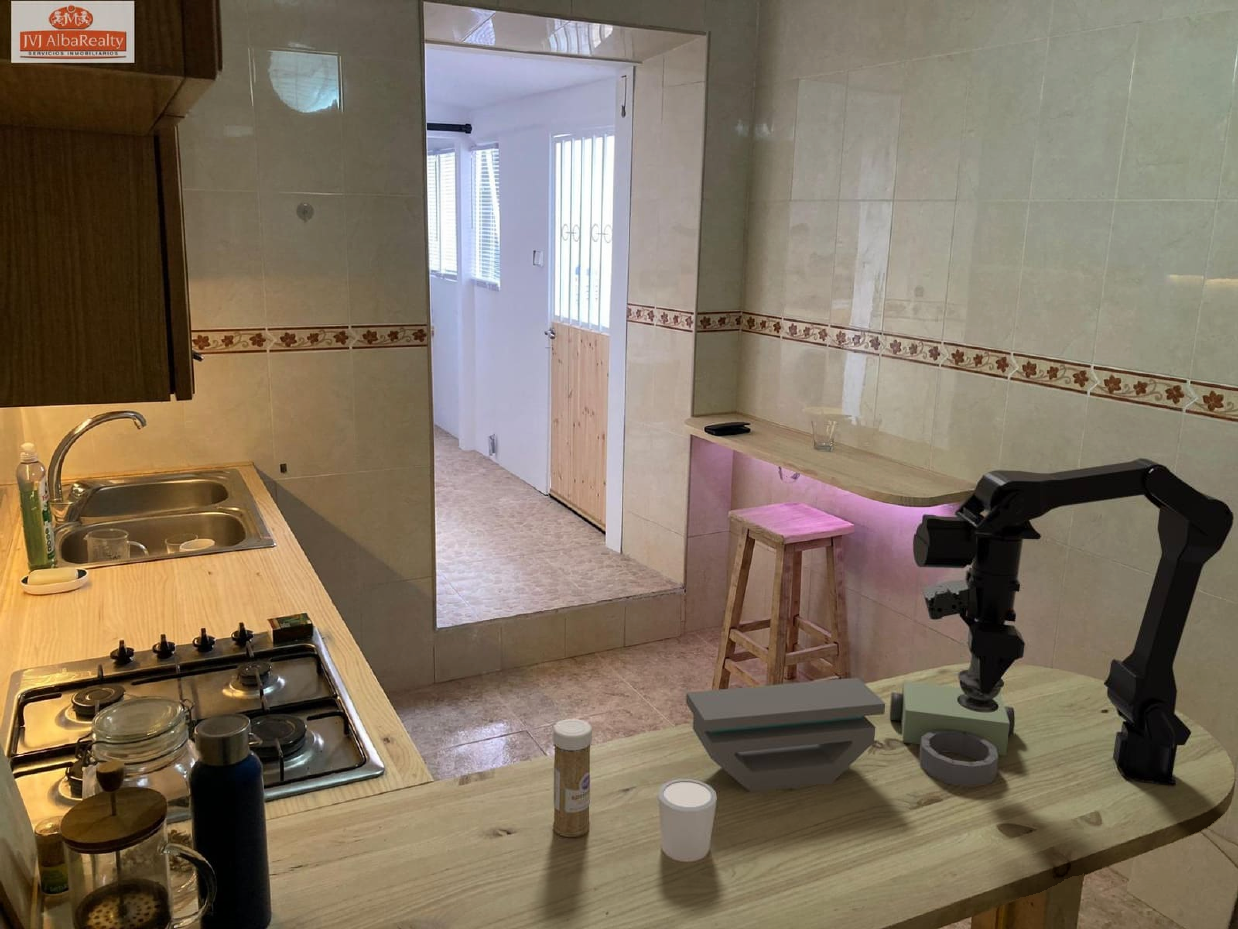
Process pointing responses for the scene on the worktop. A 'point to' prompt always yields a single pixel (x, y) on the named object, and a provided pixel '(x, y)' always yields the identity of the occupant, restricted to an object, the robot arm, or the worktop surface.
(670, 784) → the white cup
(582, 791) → the sprinkles bottle
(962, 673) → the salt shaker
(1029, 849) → the worktop surface
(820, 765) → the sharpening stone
